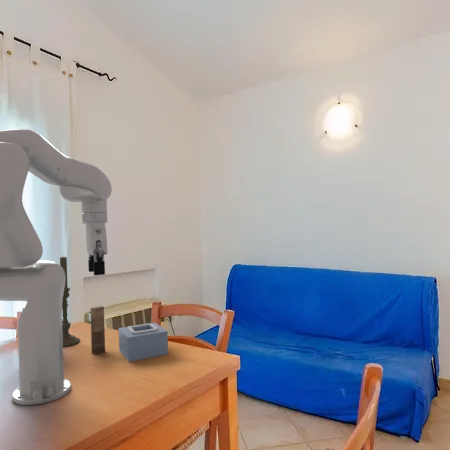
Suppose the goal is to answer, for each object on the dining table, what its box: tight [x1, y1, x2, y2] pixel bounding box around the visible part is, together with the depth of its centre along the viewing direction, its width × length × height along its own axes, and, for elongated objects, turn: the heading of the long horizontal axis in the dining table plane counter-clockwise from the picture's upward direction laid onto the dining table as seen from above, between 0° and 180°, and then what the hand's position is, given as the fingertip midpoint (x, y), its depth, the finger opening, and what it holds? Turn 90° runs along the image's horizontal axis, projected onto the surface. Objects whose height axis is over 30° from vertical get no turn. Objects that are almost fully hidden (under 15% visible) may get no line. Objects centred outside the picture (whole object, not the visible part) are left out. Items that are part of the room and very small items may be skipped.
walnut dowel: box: [89, 305, 106, 355], centre depth 120 cm, size 4×4×14 cm
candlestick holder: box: [59, 255, 81, 348], centre depth 130 cm, size 9×9×30 cm
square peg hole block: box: [118, 322, 169, 363], centre depth 119 cm, size 12×12×8 cm
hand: (96, 273), depth 120 cm, fingers open, 9 cm apart
